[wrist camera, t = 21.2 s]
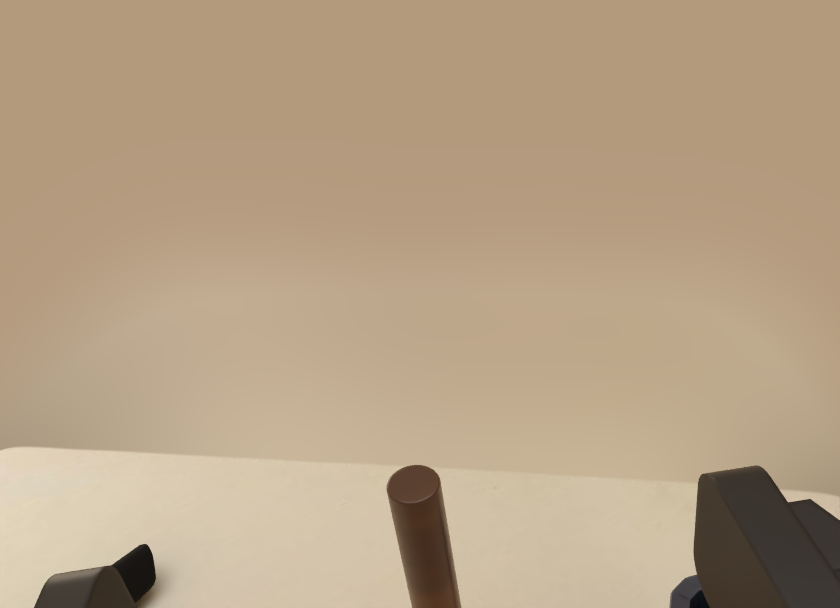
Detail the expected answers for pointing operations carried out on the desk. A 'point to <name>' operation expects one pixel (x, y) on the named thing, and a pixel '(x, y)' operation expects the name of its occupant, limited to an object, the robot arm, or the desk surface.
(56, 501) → the desk surface
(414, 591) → the stick
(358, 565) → the desk surface
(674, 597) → the tube
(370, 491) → the desk surface
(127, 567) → the electric trimmer
